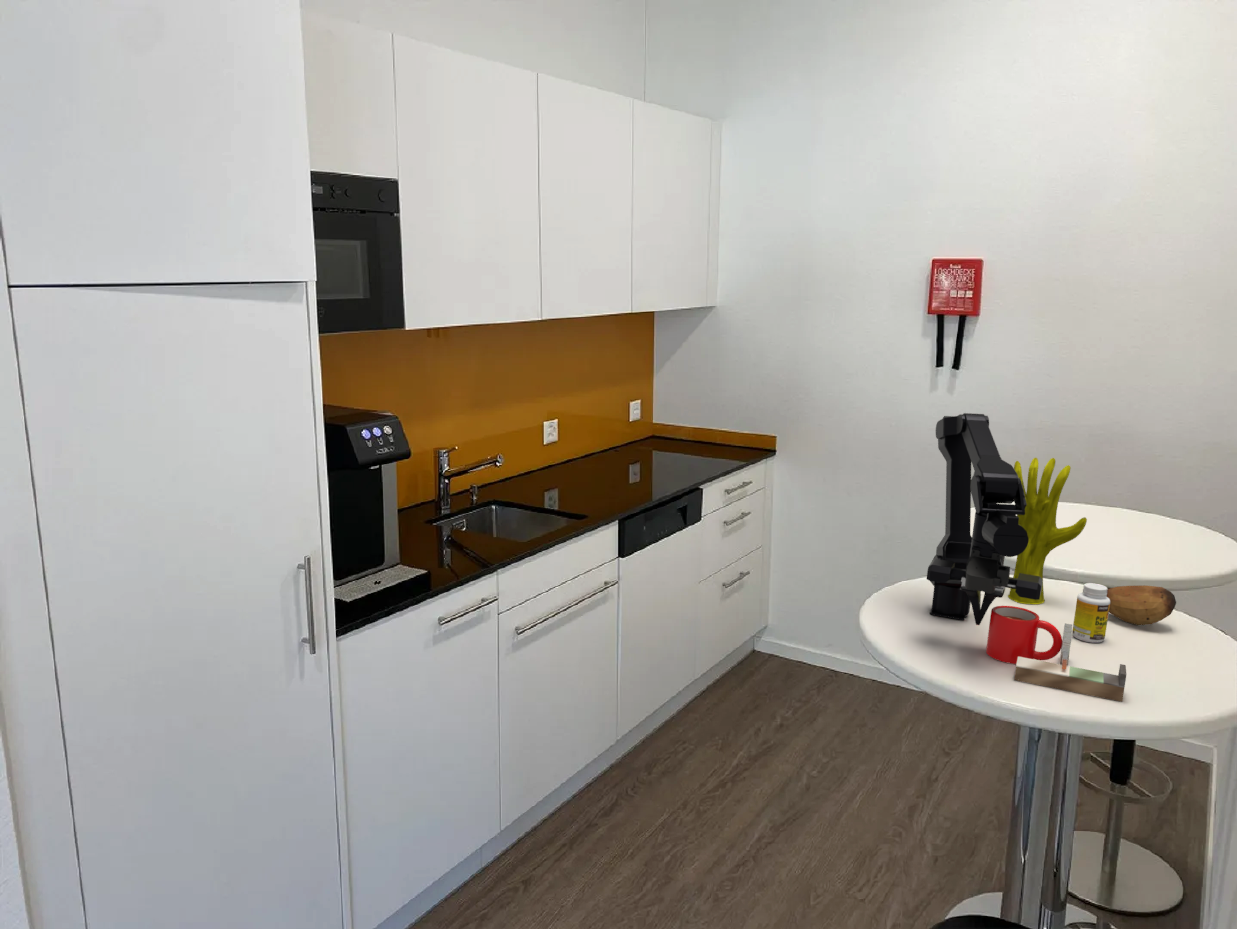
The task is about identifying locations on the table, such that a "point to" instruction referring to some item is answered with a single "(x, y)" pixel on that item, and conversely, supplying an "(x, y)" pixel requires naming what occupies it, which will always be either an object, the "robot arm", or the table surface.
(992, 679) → the table surface
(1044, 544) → the glove
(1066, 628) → the grey flat piece
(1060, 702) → the table surface
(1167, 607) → the potato
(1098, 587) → the supplement bottle
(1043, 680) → the gauge rail
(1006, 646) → the mug
